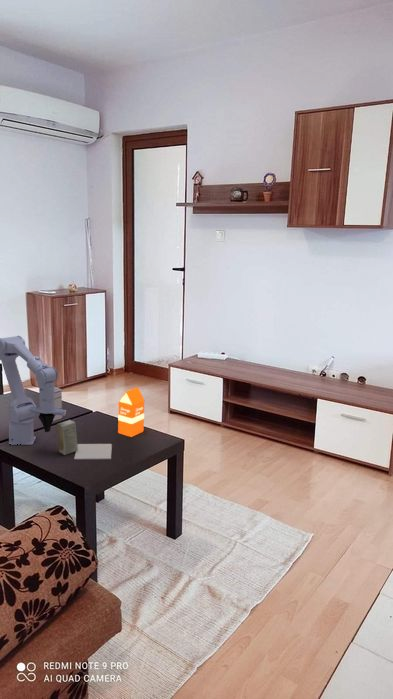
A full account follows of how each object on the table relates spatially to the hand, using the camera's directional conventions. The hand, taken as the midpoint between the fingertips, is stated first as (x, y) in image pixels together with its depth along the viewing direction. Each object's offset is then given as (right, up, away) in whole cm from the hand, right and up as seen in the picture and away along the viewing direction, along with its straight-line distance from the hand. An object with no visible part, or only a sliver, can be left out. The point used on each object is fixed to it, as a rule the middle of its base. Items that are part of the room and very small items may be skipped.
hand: (47, 431), depth 200 cm
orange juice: (+29, -5, +27) cm, 40 cm away
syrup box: (-8, 0, +38) cm, 39 cm away
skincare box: (+7, -9, +3) cm, 12 cm away
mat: (+17, -9, +4) cm, 20 cm away
